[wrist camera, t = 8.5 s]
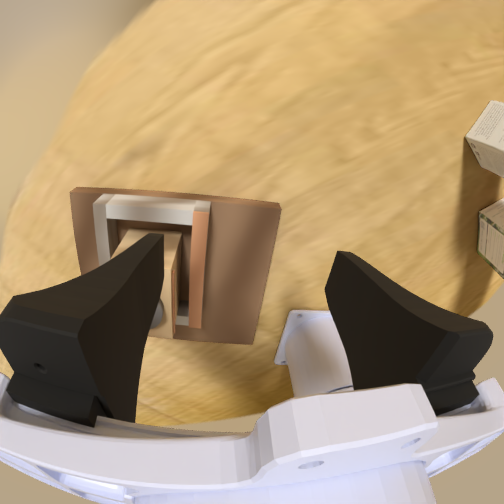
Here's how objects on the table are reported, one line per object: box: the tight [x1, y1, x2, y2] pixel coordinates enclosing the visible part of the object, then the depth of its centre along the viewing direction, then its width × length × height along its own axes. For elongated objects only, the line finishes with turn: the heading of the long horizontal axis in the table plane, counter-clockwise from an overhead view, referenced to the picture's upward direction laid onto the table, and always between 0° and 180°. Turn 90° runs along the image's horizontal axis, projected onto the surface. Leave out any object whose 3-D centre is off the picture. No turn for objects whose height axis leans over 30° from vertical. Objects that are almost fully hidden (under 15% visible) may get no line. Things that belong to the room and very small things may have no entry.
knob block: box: [110, 227, 182, 339], centre depth 20 cm, size 4×6×6 cm
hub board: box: [70, 187, 281, 345], centre depth 23 cm, size 16×14×3 cm
